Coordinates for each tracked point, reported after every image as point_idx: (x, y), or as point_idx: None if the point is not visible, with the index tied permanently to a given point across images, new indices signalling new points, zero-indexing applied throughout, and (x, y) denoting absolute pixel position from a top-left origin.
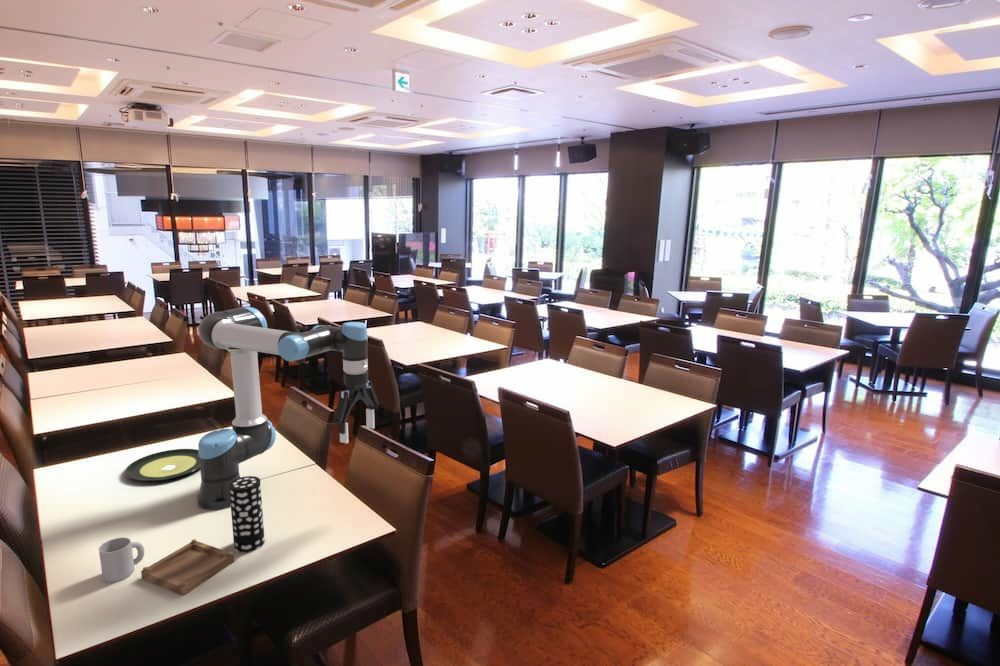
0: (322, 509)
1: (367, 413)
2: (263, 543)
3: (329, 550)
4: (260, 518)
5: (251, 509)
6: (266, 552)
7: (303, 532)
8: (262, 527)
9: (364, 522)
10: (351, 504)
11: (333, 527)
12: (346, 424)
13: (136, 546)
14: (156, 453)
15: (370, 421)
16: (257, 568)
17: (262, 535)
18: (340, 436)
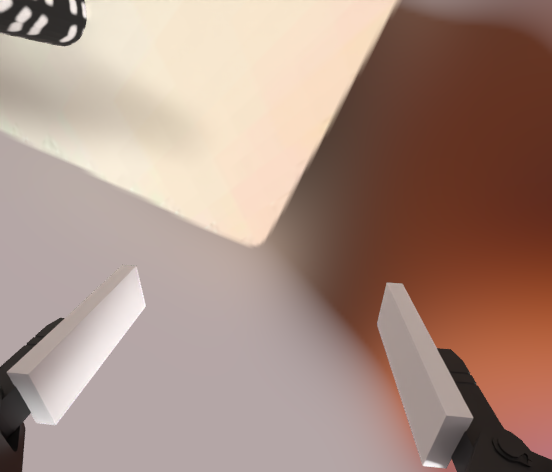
0: (262, 65)
1: (422, 381)
2: (72, 42)
3: (148, 197)
4: (2, 28)
5: None
6: (64, 77)
7: (160, 99)
8: (37, 33)
9: (257, 202)
10: (313, 125)
11: (210, 152)
12: (43, 416)
13: None
14: None
15: (393, 345)
16: (26, 105)
17: (52, 39)
18: (101, 290)
